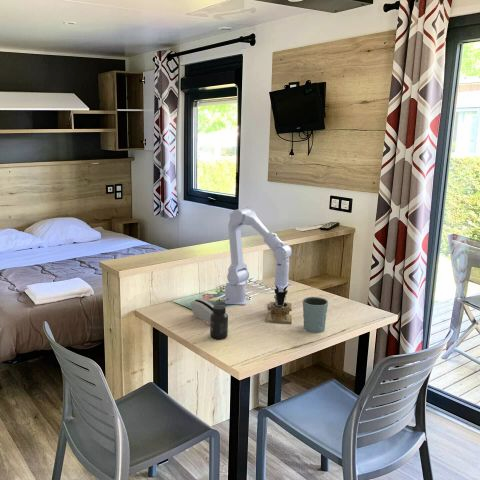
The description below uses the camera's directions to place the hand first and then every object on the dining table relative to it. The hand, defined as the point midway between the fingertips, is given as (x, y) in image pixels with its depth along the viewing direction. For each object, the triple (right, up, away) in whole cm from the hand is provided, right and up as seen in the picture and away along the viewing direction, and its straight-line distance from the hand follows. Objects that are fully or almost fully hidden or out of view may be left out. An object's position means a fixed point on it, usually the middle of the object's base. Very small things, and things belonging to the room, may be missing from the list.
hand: (280, 302), depth 215 cm
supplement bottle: (-26, -10, -25) cm, 37 cm away
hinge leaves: (0, -5, +1) cm, 5 cm away
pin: (-1, -5, +1) cm, 5 cm away
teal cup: (+12, -9, -15) cm, 21 cm away
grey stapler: (-32, -7, -9) cm, 34 cm away
